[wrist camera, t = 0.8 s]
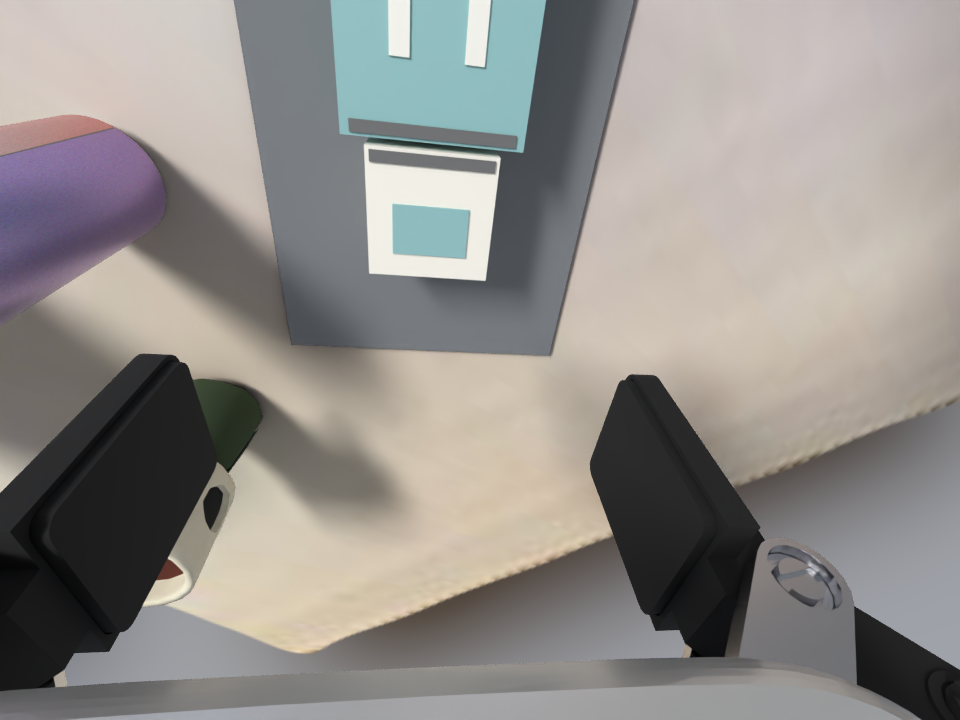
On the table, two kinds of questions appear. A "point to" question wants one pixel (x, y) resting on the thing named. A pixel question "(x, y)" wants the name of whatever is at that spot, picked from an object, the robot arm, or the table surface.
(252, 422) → the character mug
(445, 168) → the white box
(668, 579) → the robot arm
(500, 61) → the striped teal box
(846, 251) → the table surface
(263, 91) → the mat
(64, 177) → the beverage can
